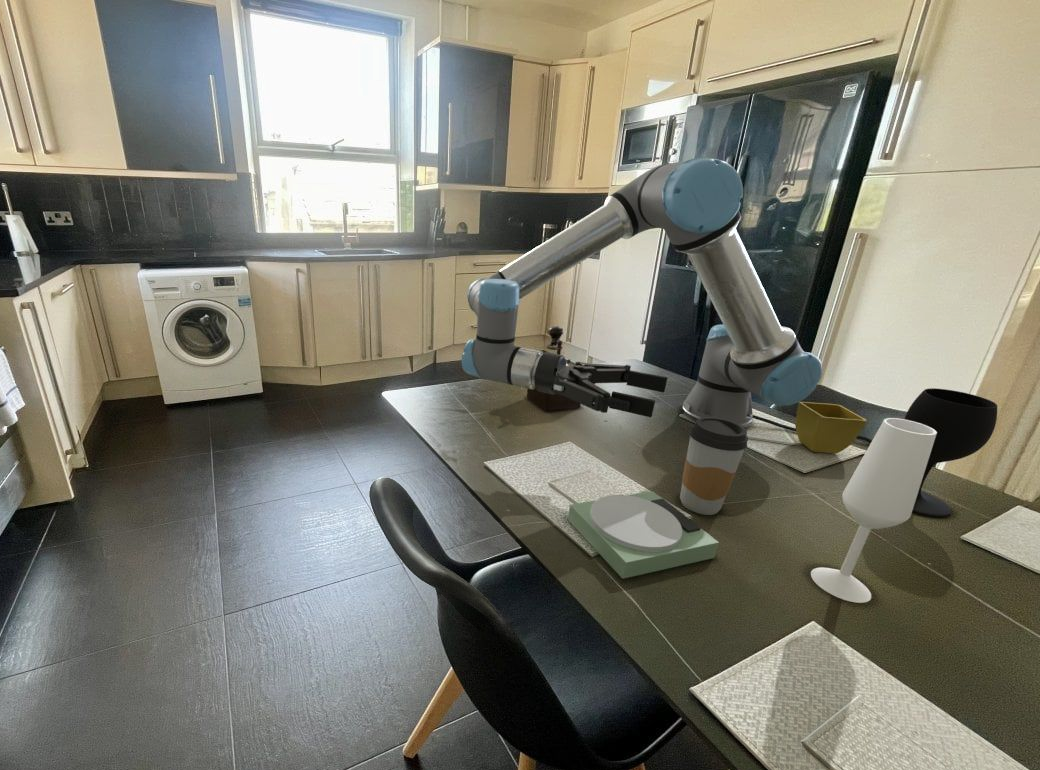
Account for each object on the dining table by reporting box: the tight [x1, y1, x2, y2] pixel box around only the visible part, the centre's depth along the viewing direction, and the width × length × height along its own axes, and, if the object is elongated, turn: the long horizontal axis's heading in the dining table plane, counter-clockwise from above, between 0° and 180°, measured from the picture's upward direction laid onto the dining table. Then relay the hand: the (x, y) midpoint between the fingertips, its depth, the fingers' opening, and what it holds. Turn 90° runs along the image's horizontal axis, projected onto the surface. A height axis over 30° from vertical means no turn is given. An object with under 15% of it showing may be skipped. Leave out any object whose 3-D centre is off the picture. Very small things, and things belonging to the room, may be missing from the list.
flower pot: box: [794, 401, 868, 454], centre depth 104 cm, size 9×9×9 cm
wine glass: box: [903, 387, 998, 518], centre depth 83 cm, size 10×10×20 cm
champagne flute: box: [810, 417, 937, 604], centre depth 62 cm, size 7×7×24 cm
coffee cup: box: [679, 417, 749, 516], centre depth 81 cm, size 8×8×15 cm
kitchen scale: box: [567, 490, 720, 580], centre depth 74 cm, size 16×14×4 cm
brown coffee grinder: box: [526, 325, 582, 413], centre depth 124 cm, size 16×11×18 cm
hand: (660, 396), depth 81 cm, fingers open, 13 cm apart
